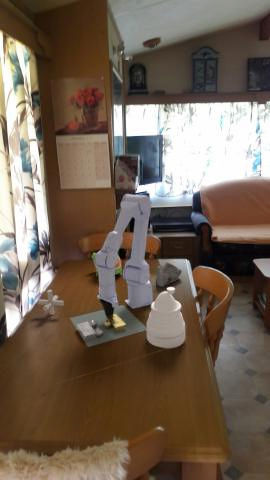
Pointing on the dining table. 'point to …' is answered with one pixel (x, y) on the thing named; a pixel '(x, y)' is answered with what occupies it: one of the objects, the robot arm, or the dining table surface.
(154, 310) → the honey pot
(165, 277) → the mineral rock
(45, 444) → the dining table surface
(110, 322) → the tan knobbed block
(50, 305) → the pipe connector
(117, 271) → the turtle holder
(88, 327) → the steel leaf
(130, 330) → the mat
